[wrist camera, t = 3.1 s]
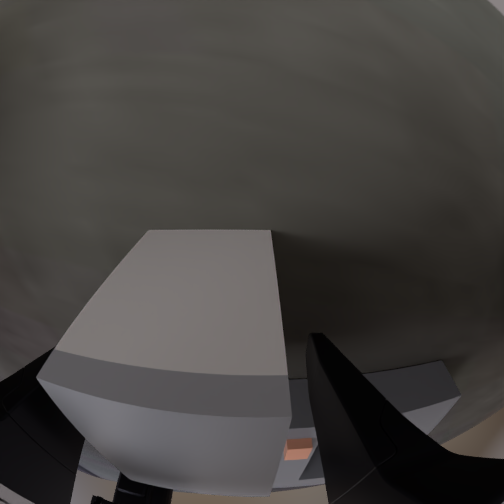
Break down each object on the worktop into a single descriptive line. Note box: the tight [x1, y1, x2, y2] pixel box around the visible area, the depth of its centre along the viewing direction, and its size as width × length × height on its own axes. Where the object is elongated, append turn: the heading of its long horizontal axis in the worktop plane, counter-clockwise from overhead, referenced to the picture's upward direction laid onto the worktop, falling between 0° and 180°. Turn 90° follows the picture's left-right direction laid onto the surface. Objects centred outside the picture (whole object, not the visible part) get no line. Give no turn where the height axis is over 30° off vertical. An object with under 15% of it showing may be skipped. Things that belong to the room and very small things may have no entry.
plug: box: [36, 230, 292, 497], centre depth 8 cm, size 6×4×7 cm
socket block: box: [272, 360, 461, 488], centre depth 14 cm, size 12×10×4 cm
